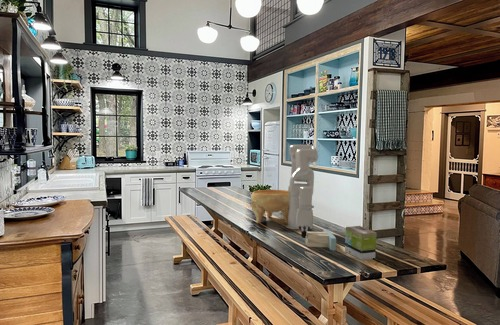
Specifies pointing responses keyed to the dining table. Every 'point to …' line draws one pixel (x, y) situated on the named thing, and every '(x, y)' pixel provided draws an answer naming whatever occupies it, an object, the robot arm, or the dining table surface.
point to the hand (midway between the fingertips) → (303, 237)
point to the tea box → (360, 242)
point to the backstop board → (331, 240)
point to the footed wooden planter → (270, 203)
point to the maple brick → (317, 239)
